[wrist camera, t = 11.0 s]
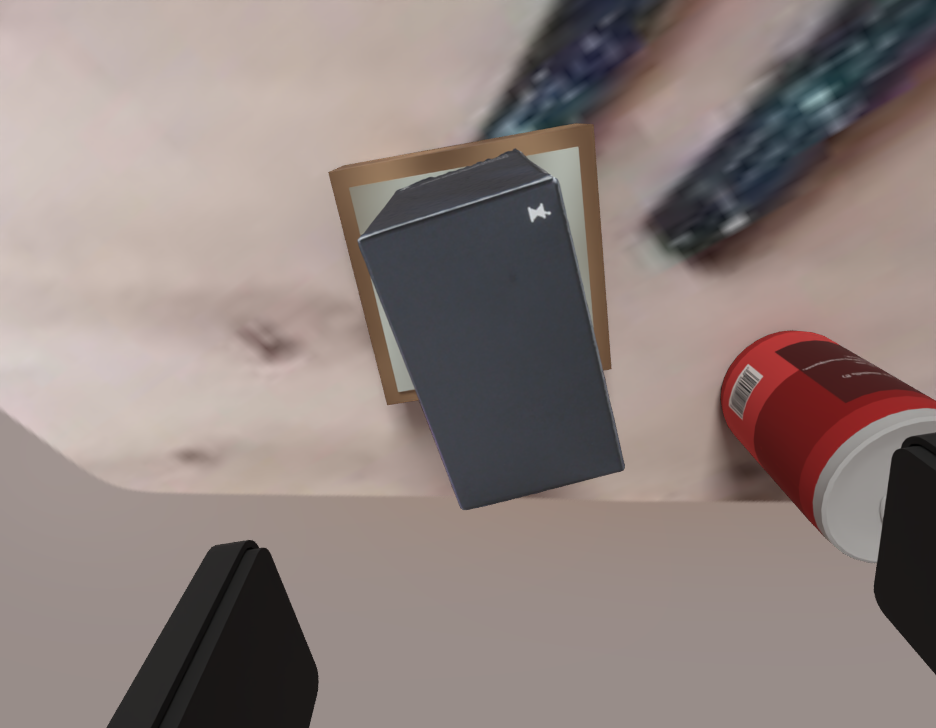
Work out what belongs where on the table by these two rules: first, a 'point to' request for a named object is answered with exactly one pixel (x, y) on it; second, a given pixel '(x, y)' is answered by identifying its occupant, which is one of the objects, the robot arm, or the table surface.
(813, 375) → the canned food
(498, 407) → the small box
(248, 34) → the table surface
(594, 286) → the wooden box
